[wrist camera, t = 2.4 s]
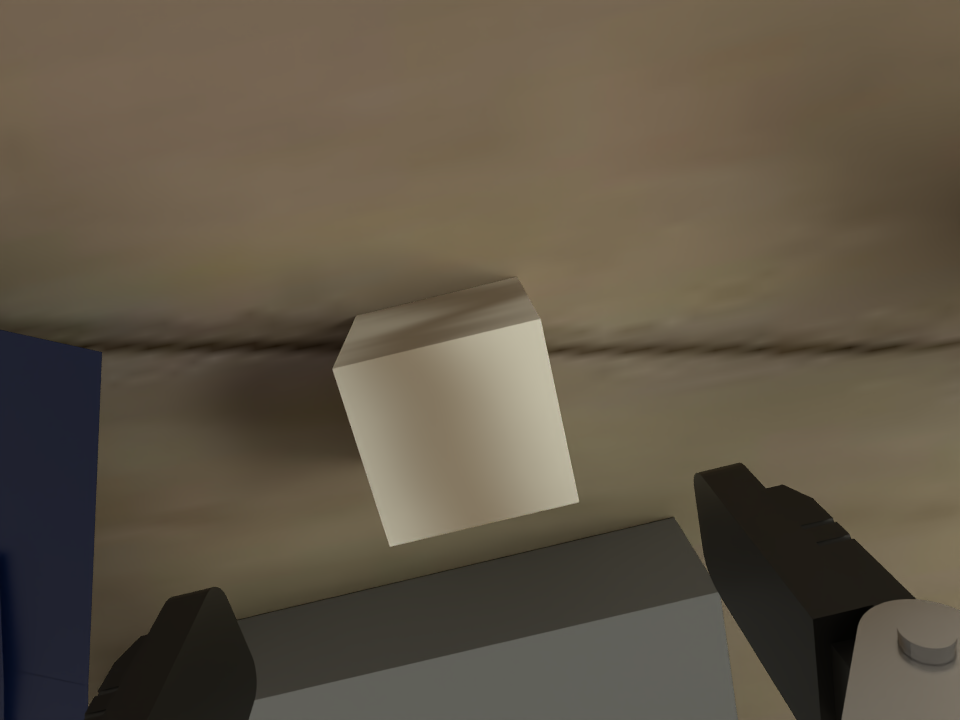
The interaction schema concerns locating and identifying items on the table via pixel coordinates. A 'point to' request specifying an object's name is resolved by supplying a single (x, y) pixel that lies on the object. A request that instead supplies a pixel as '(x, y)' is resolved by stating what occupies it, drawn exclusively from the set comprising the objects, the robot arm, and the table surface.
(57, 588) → the papers
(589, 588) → the charcoal plinth
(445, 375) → the cream cube
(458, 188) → the table surface
